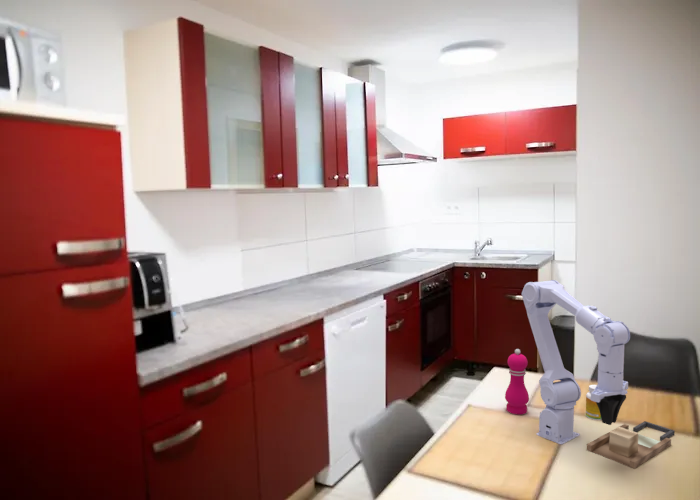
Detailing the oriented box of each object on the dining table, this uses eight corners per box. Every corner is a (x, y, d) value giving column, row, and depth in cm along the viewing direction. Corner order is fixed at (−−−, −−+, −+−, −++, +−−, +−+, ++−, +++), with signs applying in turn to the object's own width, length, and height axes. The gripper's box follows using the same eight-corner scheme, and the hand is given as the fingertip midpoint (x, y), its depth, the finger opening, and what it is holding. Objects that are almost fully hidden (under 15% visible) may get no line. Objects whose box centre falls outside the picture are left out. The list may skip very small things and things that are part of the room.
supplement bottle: (602, 423, 158) (603, 391, 157) (583, 418, 161) (584, 387, 160) (606, 416, 162) (607, 386, 161) (587, 412, 165) (588, 382, 164)
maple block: (628, 457, 136) (629, 438, 136) (609, 450, 140) (609, 431, 140) (637, 451, 139) (638, 433, 139) (618, 444, 143) (619, 426, 143)
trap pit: (662, 442, 145) (663, 437, 144) (633, 432, 151) (633, 427, 151) (674, 435, 149) (674, 430, 149) (644, 426, 155) (644, 421, 155)
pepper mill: (531, 415, 164) (533, 352, 162) (508, 415, 164) (509, 352, 162) (524, 406, 171) (525, 345, 169) (502, 406, 171) (502, 345, 169)
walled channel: (634, 470, 131) (634, 462, 131) (586, 451, 141) (586, 444, 141) (670, 446, 143) (671, 439, 142) (624, 430, 152) (624, 423, 152)
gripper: (611, 380, 125) (609, 436, 127) (641, 368, 134) (639, 419, 135) (583, 373, 131) (581, 426, 132) (613, 361, 139) (611, 411, 141)
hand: (608, 422), depth 134 cm, fingers closed
